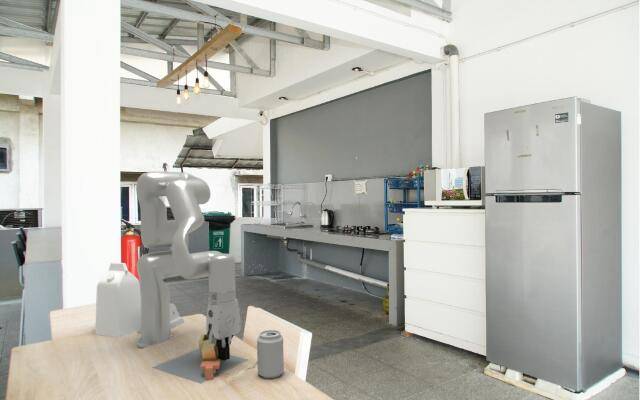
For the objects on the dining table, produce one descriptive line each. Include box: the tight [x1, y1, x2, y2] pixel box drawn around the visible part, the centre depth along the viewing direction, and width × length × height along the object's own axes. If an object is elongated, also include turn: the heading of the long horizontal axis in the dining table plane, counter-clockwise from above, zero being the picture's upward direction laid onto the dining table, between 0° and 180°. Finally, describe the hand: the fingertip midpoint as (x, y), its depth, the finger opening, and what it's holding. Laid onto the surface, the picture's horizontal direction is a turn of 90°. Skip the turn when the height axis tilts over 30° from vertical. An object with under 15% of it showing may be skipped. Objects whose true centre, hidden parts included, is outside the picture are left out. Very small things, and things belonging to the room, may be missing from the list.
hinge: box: [170, 303, 185, 330], centre depth 170 cm, size 17×5×10 cm, turn 163°
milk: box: [94, 262, 141, 339], centre depth 166 cm, size 12×12×26 cm
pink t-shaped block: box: [200, 361, 220, 381], centre depth 122 cm, size 5×5×5 cm
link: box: [198, 333, 220, 375], centre depth 130 cm, size 18×7×6 cm, turn 8°
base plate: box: [152, 348, 249, 384], centre depth 130 cm, size 20×19×2 cm
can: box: [256, 329, 285, 379], centre depth 126 cm, size 8×8×12 cm
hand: (223, 358), depth 128 cm, fingers closed
